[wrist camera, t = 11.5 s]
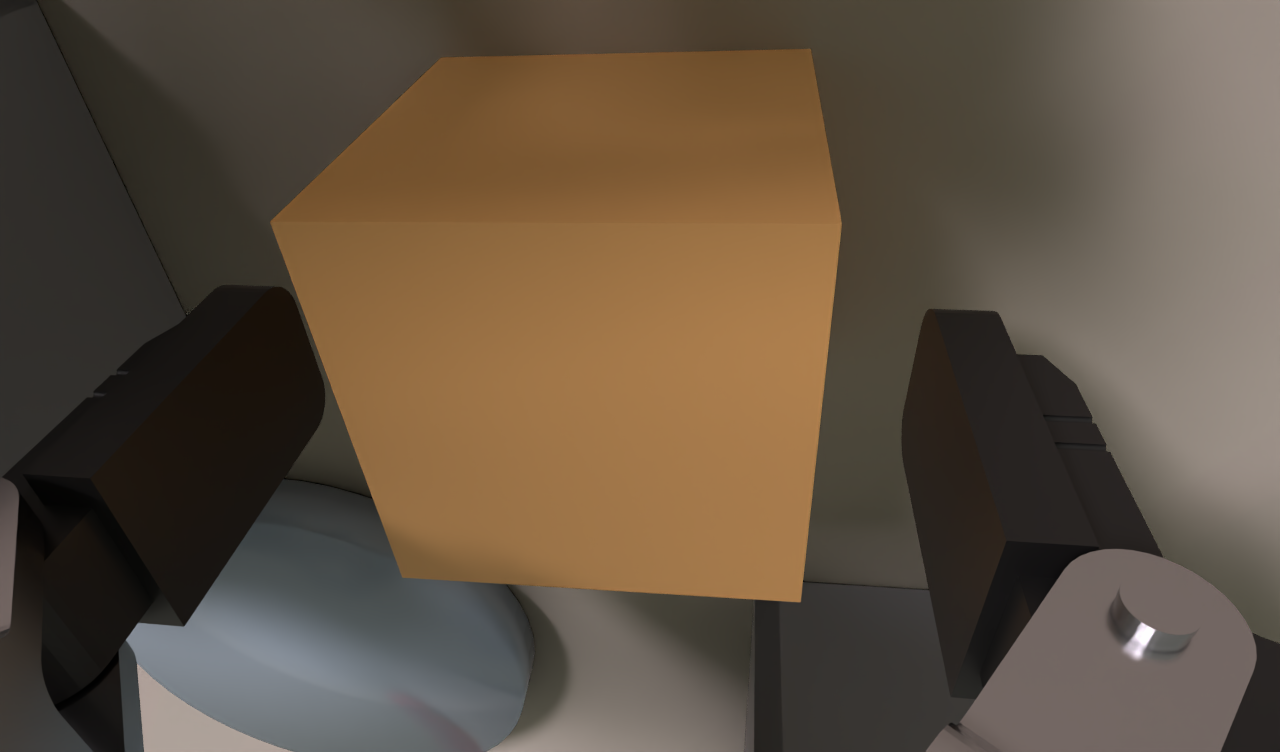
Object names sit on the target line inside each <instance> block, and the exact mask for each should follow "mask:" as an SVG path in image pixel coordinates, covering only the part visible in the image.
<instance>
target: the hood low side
mask: <svg viewBox="0 0 1280 752" xmlns="http://www.w3.org/2000/svg"><path fill="white" fill-rule="evenodd" d="M975 700H976V699H966V698H954V697H951V696H950V691H949V686H948V682H947V677H946V672H945V667H944V662H943V657H942V652H941V647H940V642H939V637H938V632H937V627H936V622H935V617H934V612H933V607H932V602H931V597H930V592H929V590H918V589H902V588H886V587H871V586H855V585H839V584H824V583H808V582H803V585H802V595H801V602H787V601H771V600H755V599H754V604H753V620H752V636H751V652H750V668H749V684H748V700H747V716H746V733H745V749H744V752H926V750H927V749H928V748H929V746H930V745H931V743H932V742H933V741H934V740H935V738H936V737H937V736H938V734H939V733H940V732H941V731H942V730H943V729H944V728H945V727H946V726H947V725H948V724H949V723H954V724H955V725H957V724H958V723H959V722H960V721H961V720H962V718H963V717H964V716H965V714H966V713H967V711H968V710H969V709H970V707H971V706H972V704H973V703H974V701H975Z"/></svg>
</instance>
